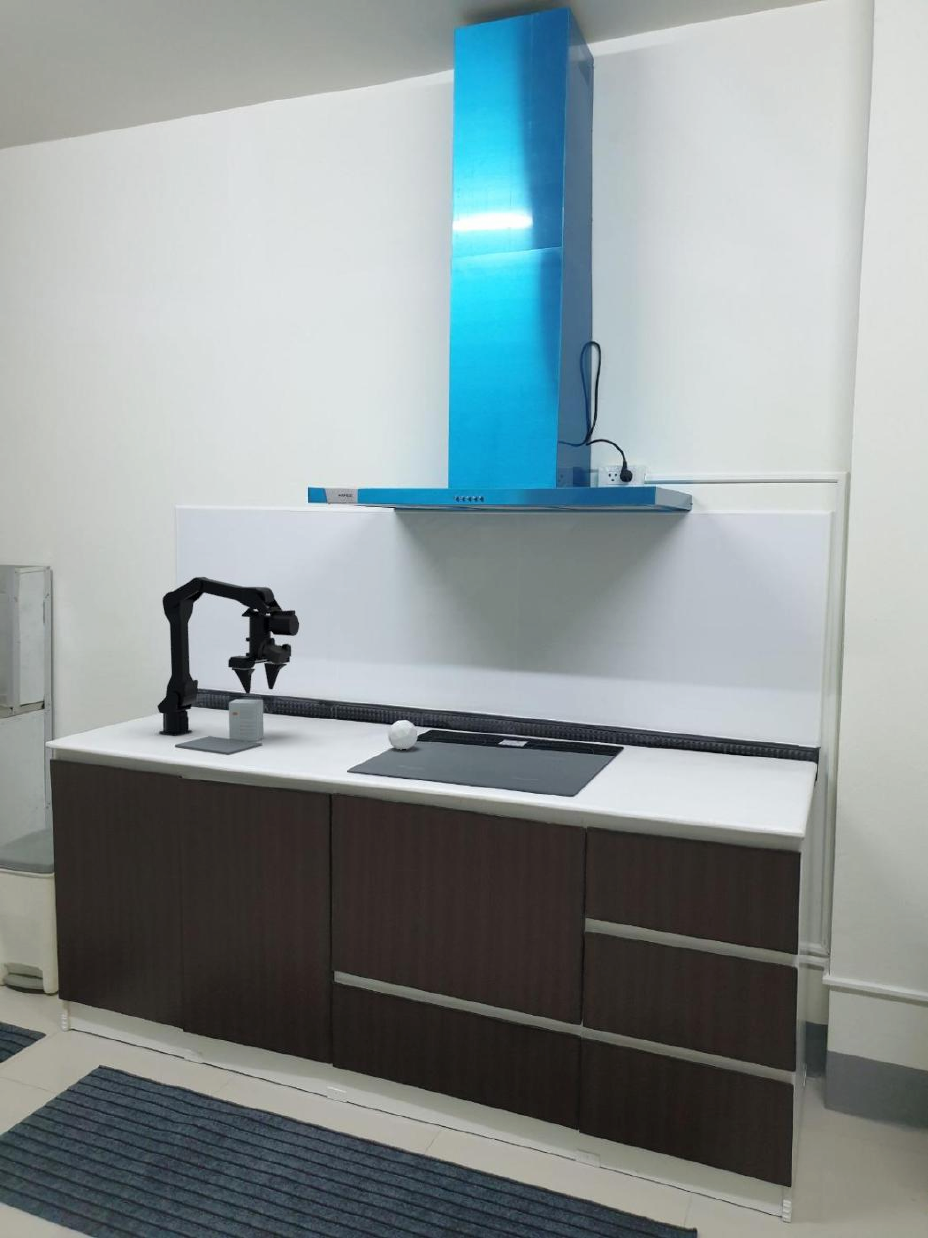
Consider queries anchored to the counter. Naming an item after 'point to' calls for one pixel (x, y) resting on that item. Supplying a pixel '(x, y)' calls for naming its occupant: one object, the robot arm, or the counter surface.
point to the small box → (246, 720)
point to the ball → (402, 735)
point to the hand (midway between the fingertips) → (259, 691)
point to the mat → (218, 745)
